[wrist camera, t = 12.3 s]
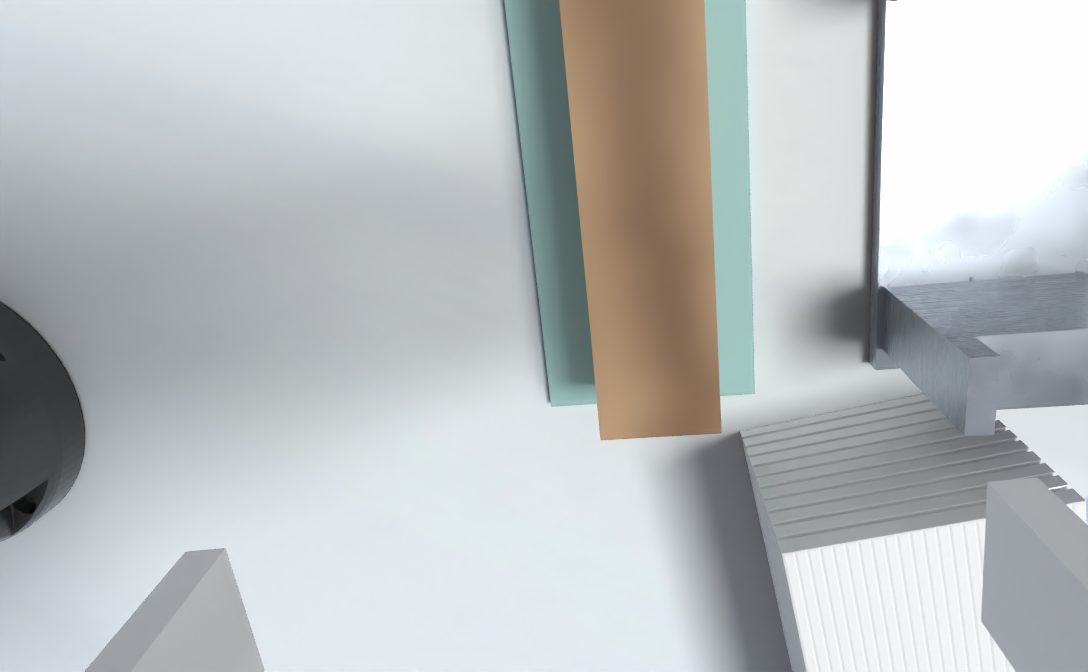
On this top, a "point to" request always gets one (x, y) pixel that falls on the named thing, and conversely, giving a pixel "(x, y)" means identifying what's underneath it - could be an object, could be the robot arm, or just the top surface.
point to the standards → (982, 204)
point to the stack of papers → (884, 534)
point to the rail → (645, 211)
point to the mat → (557, 198)
